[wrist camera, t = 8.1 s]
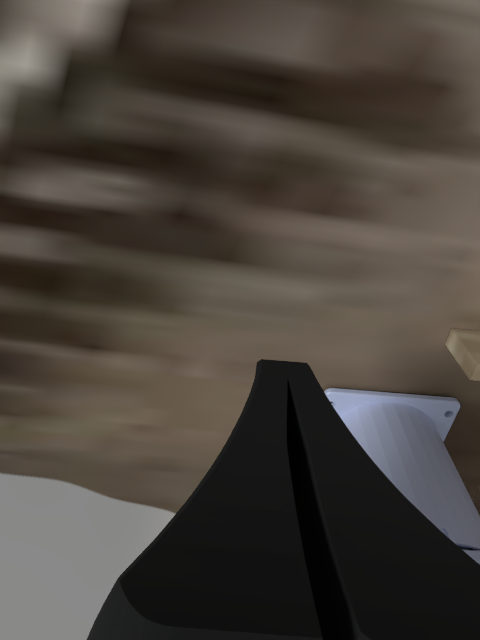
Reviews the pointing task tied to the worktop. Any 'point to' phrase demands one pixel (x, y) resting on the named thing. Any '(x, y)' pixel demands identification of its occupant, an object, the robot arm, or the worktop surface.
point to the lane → (466, 351)
